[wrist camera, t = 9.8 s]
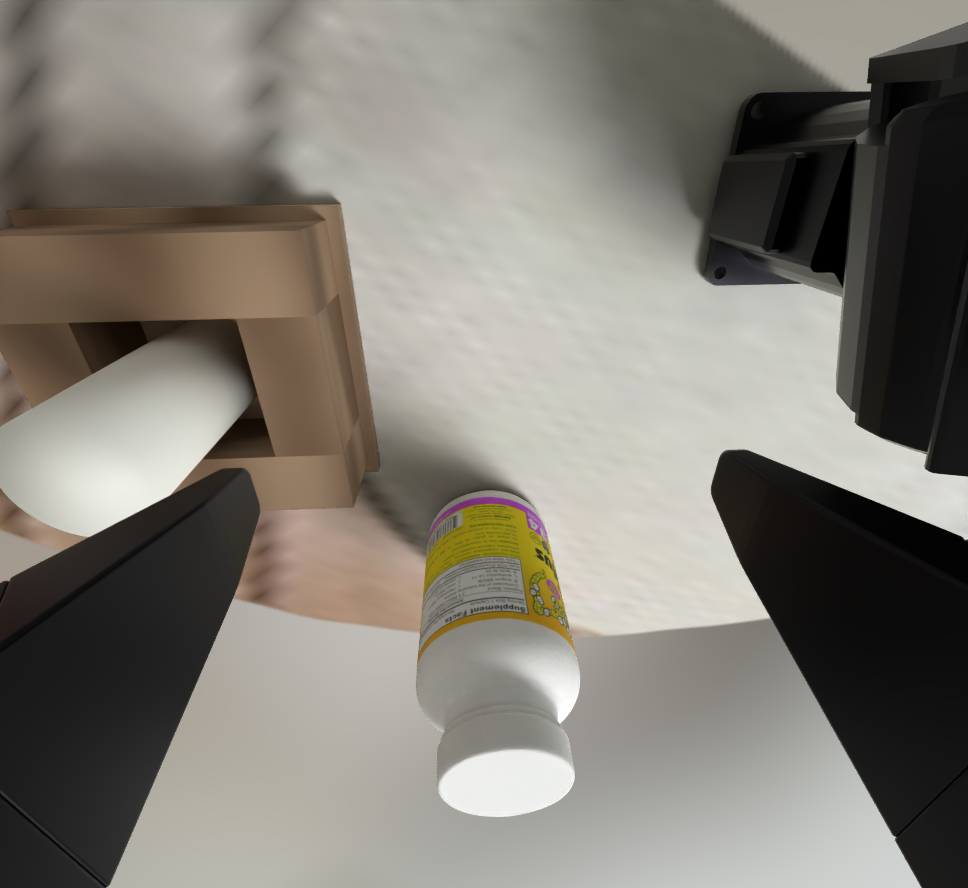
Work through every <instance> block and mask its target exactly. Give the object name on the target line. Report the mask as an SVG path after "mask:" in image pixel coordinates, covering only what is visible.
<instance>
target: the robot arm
mask: <svg viewBox="0 0 968 888" xmlns="http://www.w3.org/2000/svg"><path fill="white" fill-rule="evenodd" d="M867 83H872V84H871V92H773V93H759V94H755V95H751V96H750V97H748V98H747V99H746V100H745V101H744V102H743V104H742V105H741V107H740V110H739V114H738V118H737V123H736V127H735V132H734V137H733V141H732V146H731V150H730V155H729V157H728V158H727V160H726V161H725V162H724V163H723V166H722V171H721V176H720V180H719V185H718V190H717V194H716V199H715V204H714V208H713V213H712V218H711V222H710V227H709V234H710V236H711V242H710V247H709V251H708V256H707V260H706V265H705V270H704V278H705V280H706V281H707V282H709V283H711V284H713V285H760V284H805V285H808V286H811V287H814V288H817V289H820V290H823V291H826V292H829V293H832V294H835V295H837V296H840V297H842V310H841V322H840V335H839V347H838V359H837V372H836V392H837V394H838V395H839V396H840V397H841V399H842V400H843V401H844V402H845V403H846V405H847V406H848V407H849V408H850V409H851V410H852V411H853V412H855V413H856V414H855V423H856V424H857V425H858V426H859V427H861V428H863V429H865V430H867V431H869V432H870V433H872V434H874V435H876V436H878V437H880V438H882V439H884V440H886V441H888V442H891V443H894V444H897V445H900V446H903V447H906V448H908V449H911V450H914V451H917V452H922V453H924V454H927V456H926V461H925V466H924V467H925V469H926V470H928V471H929V472H932V473H937V474H947V475H958V476H968V22H967V23H964V24H962V25H959V26H956V27H953V28H951V29H948V30H945V31H943V32H940V33H937V34H934V35H931V36H929V37H926V38H923V39H921V40H918V41H915V42H912V43H910V44H907V45H904V46H901V47H899V48H896V49H893V50H890V51H888V52H885V53H882V54H879V55H877V56H874V57H871V58H870V59H869V68H868V79H867ZM756 103H757V104H758V105H759V107H760V112H759V114H758V116H757V117H756V118H753V117H752V115H751V110H752V108H753V106H754V105H755V104H756ZM718 267H722V272H721V274H720V275H719V276H718V277H714V272H715V270H716V269H717V268H718ZM711 494H712V498H713V501H714V503H715V505H716V508H717V510H718V513H719V515H720V517H721V520H722V522H723V524H724V527H725V529H726V531H727V534H728V536H729V539H730V541H731V543H732V546H733V548H734V550H735V553H736V555H737V557H738V559H739V561H740V563H741V565H742V567H743V569H744V571H745V573H746V575H747V577H748V578H749V580H750V582H751V584H752V586H753V587H754V589H755V591H756V593H757V594H758V596H759V598H760V600H761V602H762V603H763V605H764V607H765V609H766V611H767V612H768V614H769V616H770V618H771V619H772V621H773V623H774V625H775V627H776V628H777V630H778V632H779V634H780V635H781V637H782V639H783V641H784V642H785V644H786V646H787V648H788V650H789V651H790V653H791V655H792V657H793V659H794V660H795V662H796V664H797V666H798V668H799V669H800V671H801V673H802V675H803V676H804V678H805V680H806V682H807V684H808V685H809V687H810V689H811V691H812V692H813V694H814V696H815V698H816V699H817V701H818V703H819V705H820V707H821V709H822V710H823V712H824V714H825V716H826V717H827V719H828V721H829V723H830V724H831V726H832V728H833V730H834V732H835V733H836V735H837V737H838V739H839V741H840V742H841V744H842V746H843V748H844V749H845V751H846V753H847V755H848V757H849V758H850V760H851V762H852V764H853V766H854V767H855V769H856V771H857V773H858V774H859V776H860V778H861V780H862V782H863V783H864V785H865V787H866V789H867V791H868V792H869V794H870V796H871V798H872V799H873V801H874V803H875V804H876V806H877V808H878V810H879V812H880V814H881V815H882V817H883V819H884V821H885V823H886V824H887V826H888V828H889V830H890V831H891V833H892V835H893V836H895V837H896V838H895V841H896V843H897V845H898V846H899V848H900V850H901V852H902V854H903V855H904V857H905V859H906V861H907V862H908V864H909V866H910V868H911V870H912V871H913V873H914V875H915V877H916V878H917V880H918V882H919V884H920V886H921V887H922V888H968V540H964V538H963V537H961V536H959V535H957V534H954V533H952V532H949V531H947V530H944V529H942V528H939V527H937V526H934V525H932V524H929V523H927V522H924V521H922V520H919V519H917V518H914V517H912V516H910V515H907V514H905V513H902V512H900V511H897V510H895V509H892V508H890V507H887V506H885V505H882V504H880V503H877V502H875V501H872V500H870V499H867V498H865V497H863V496H860V495H858V494H855V493H853V492H850V491H848V490H845V489H843V488H840V487H838V486H835V485H833V484H830V483H828V482H825V481H823V480H820V479H818V478H815V477H813V476H811V475H808V474H806V473H803V472H801V471H798V470H796V469H793V468H791V467H788V466H786V465H783V464H781V463H778V462H776V461H773V460H771V459H768V458H766V457H764V456H761V455H759V454H756V453H754V452H751V451H749V450H743V449H742V450H726V451H724V452H723V453H722V454H721V455H720V457H719V460H718V464H717V467H716V471H715V474H714V478H713V481H712V485H711ZM259 515H260V503H259V500H258V497H257V494H256V491H255V488H254V485H253V481H252V478H251V475H250V473H249V472H248V470H246V469H245V468H223V469H220V470H218V471H216V472H214V473H212V474H210V475H208V476H206V477H204V478H202V479H201V480H199V481H197V482H195V483H193V484H191V485H189V486H187V487H185V488H183V489H181V490H179V491H177V492H175V493H173V494H172V495H170V496H168V497H166V498H164V499H162V500H160V501H158V502H156V503H154V504H152V505H150V506H148V507H146V508H144V509H143V510H141V511H139V512H137V513H135V514H133V515H131V516H129V517H127V518H125V519H123V520H121V521H119V522H117V523H115V524H114V525H112V526H110V527H108V528H106V529H104V530H102V531H100V532H98V533H96V534H94V535H92V536H90V537H88V538H86V539H85V540H83V541H81V542H79V543H77V544H75V545H73V546H71V547H69V548H67V549H65V550H63V551H61V552H59V553H58V554H56V555H54V556H52V557H50V558H48V559H46V560H44V561H42V562H40V563H38V564H36V565H34V566H32V567H31V568H29V569H27V570H25V571H23V572H21V573H19V574H17V575H15V576H13V577H12V578H11V579H10V581H3V582H1V583H0V888H106V887H108V886H109V885H110V883H111V880H112V878H113V876H114V874H115V871H116V869H117V867H118V865H119V862H120V860H121V858H122V855H123V853H124V850H125V848H126V846H127V844H128V841H129V839H130V837H131V834H132V832H133V830H134V827H135V825H136V823H137V820H138V818H139V815H140V813H141V811H142V809H143V806H144V804H145V802H146V799H147V797H148V795H149V792H150V790H151V788H152V785H153V783H154V780H155V778H156V776H157V773H158V772H159V769H160V767H161V765H162V762H163V760H164V758H165V755H166V753H167V750H168V748H169V746H170V744H171V741H172V739H173V737H174V734H175V732H176V729H177V727H178V725H179V723H180V720H181V718H182V716H183V713H184V711H185V709H186V706H187V704H188V702H189V699H190V697H191V695H192V692H193V690H194V688H195V685H196V683H197V681H198V678H199V676H200V674H201V671H202V669H203V667H204V664H205V662H206V660H207V658H208V655H209V653H210V650H211V648H212V646H213V643H214V641H215V639H216V636H217V634H218V632H219V630H220V627H221V625H222V623H223V620H224V618H225V616H226V613H227V611H228V609H229V606H230V604H231V602H232V599H233V597H234V595H235V592H236V590H237V587H238V584H239V581H240V578H241V575H242V572H243V569H244V566H245V562H246V559H247V555H248V552H249V549H250V545H251V542H252V539H253V535H254V532H255V529H256V525H257V522H258V518H259Z"/></svg>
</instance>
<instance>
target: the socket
mask: <svg viewBox="0 0 968 888" xmlns="http://www.w3.org/2000/svg"><path fill="white" fill-rule="evenodd" d="M6 212H7V214H8V216H9V218H10V220H11V222H12V224H13V226H14V227H12V228H5V229H0V352H1V354H2V355H3V357H4V359H5V361H6V362H7V364H8V366H9V368H10V370H11V371H12V373H13V375H14V377H15V378H16V380H17V382H18V384H19V385H20V387H21V389H22V391H23V393H24V394H25V396H26V398H27V400H28V401H29V403H30V405H31V407H32V408H34V407H35V406H37V405H39V404H41V403H43V402H44V401H46V400H48V399H50V398H51V397H53V396H55V395H57V394H58V393H60V392H62V391H64V390H66V389H67V388H69V387H71V386H73V385H74V384H76V383H78V382H80V381H81V380H83V379H85V378H87V377H89V376H90V375H92V374H94V373H96V372H97V371H99V370H101V369H103V368H104V367H106V366H108V365H110V364H112V363H113V362H115V361H117V360H119V359H120V358H122V357H124V356H126V355H127V354H129V353H131V352H133V351H135V350H136V349H138V348H140V347H142V346H143V345H145V344H147V343H149V342H150V341H152V340H154V339H156V338H158V337H159V336H161V335H163V334H165V333H166V332H168V331H170V330H172V329H173V328H175V327H177V326H179V325H181V324H182V323H184V322H186V321H188V320H202V319H229V320H231V321H234V322H235V323H237V324H238V328H239V331H240V335H241V338H242V342H243V345H244V349H245V352H246V356H247V359H248V363H249V366H250V369H251V373H252V376H253V380H254V383H255V387H256V390H257V394H258V396H257V397H256V398H255V400H254V401H253V402H252V403H251V404H250V405H249V406H248V408H247V409H246V410H245V411H244V412H243V413H242V414H241V416H240V417H239V418H238V419H237V420H236V421H235V422H234V423H233V425H232V426H231V427H230V428H229V429H228V430H227V431H226V433H225V434H224V435H223V436H222V437H221V438H220V439H219V440H218V442H217V443H216V444H215V445H214V446H213V447H212V448H211V450H210V451H209V452H208V453H207V454H206V455H205V456H204V458H203V459H202V460H201V461H200V462H199V463H198V464H197V465H196V467H195V468H194V469H193V470H192V471H191V472H190V473H189V475H188V476H187V477H186V478H185V479H184V480H183V481H182V482H181V484H180V485H179V486H178V487H177V488H176V489H175V490H174V492H173V493H175V492H177V491H179V490H181V489H183V488H185V487H187V486H189V485H191V484H193V483H195V482H197V481H199V480H201V479H202V478H204V477H206V476H208V475H210V474H212V473H214V472H216V471H218V470H220V469H223V468H245V469H246V470H248V472H249V473H250V475H251V478H252V481H253V485H254V488H255V491H256V494H257V497H258V500H259V503H260V511H271V510H298V509H324V508H350V507H354V504H355V501H356V498H357V494H358V491H359V488H360V485H361V482H362V479H363V475H364V472H376V471H379V468H380V459H379V453H378V446H377V440H376V433H375V426H374V420H373V413H372V407H371V400H370V393H369V387H368V380H367V374H366V367H365V360H364V354H363V347H362V341H361V334H360V327H359V321H358V314H357V308H356V301H355V294H354V288H353V281H352V275H351V268H350V261H349V255H348V248H347V242H346V235H345V228H344V222H343V215H342V209H341V204H306V205H248V206H191V207H133V208H75V209H19V210H8V211H6ZM173 493H172V494H173ZM172 494H171V495H172Z"/></svg>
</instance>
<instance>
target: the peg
mask: <svg viewBox="0 0 968 888" xmlns="http://www.w3.org/2000/svg"><path fill="white" fill-rule="evenodd" d="M257 396H258V394H257V390H256V387H255V383H254V380H253V376H252V373H251V369H250V366H249V363H248V359H247V356H246V352H245V349H244V345H243V342H242V338H241V335H240V331H239V328H238V324H237V323H235V322H234V321H231V320H229V319H202V320H188V321H186V322H184V323H182V324H181V325H179V326H177V327H175V328H173V329H172V330H170V331H168V332H166V333H165V334H163V335H161V336H159V337H158V338H156V339H154V340H152V341H150V342H149V343H147V344H145V345H143V346H142V347H140V348H138V349H136V350H135V351H133V352H131V353H129V354H127V355H126V356H124V357H122V358H120V359H119V360H117V361H115V362H113V363H112V364H110V365H108V366H106V367H104V368H103V369H101V370H99V371H97V372H96V373H94V374H92V375H90V376H89V377H87V378H85V379H83V380H81V381H80V382H78V383H76V384H74V385H73V386H71V387H69V388H67V389H66V390H64V391H62V392H60V393H58V394H57V395H55V396H53V397H51V398H50V399H48V400H46V401H44V402H43V403H41V404H39V405H37V406H35V407H34V408H32V409H30V410H28V411H27V412H25V413H23V414H21V415H20V416H18V417H16V418H14V419H12V420H11V421H9V422H7V423H6V424H4V425H2V426H1V427H0V488H1V489H2V491H3V492H4V493H5V494H6V495H7V496H8V497H9V498H10V499H11V500H12V501H13V502H14V503H15V504H16V505H17V506H18V507H20V508H21V509H22V510H24V511H25V512H26V513H28V514H29V515H31V516H33V517H34V518H36V519H38V520H39V521H41V522H43V523H45V524H47V525H49V526H52V527H54V528H56V529H59V530H62V531H65V532H68V533H72V534H76V535H81V536H86V537H90V536H92V535H94V534H96V533H98V532H100V531H102V530H104V529H106V528H108V527H110V526H112V525H114V524H115V523H117V522H119V521H121V520H123V519H125V518H127V517H129V516H131V515H133V514H135V513H137V512H139V511H141V510H143V509H144V508H146V507H148V506H150V505H152V504H154V503H156V502H158V501H160V500H162V499H164V498H166V497H168V496H170V495H171V494H172V493H173V492H174V490H175V489H176V488H177V487H178V486H179V485H180V484H181V482H182V481H183V480H184V479H185V478H186V477H187V476H188V475H189V473H190V472H191V471H192V470H193V469H194V468H195V467H196V465H197V464H198V463H199V462H200V461H201V460H202V459H203V458H204V456H205V455H206V454H207V453H208V452H209V451H210V450H211V448H212V447H213V446H214V445H215V444H216V443H217V442H218V440H219V439H220V438H221V437H222V436H223V435H224V434H225V433H226V431H227V430H228V429H229V428H230V427H231V426H232V425H233V423H234V422H235V421H236V420H237V419H238V418H239V417H240V416H241V414H242V413H243V412H244V411H245V410H246V409H247V408H248V406H249V405H250V404H251V403H252V402H253V401H254V400H255V398H256V397H257Z"/></svg>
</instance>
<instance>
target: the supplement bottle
mask: <svg viewBox="0 0 968 888" xmlns="http://www.w3.org/2000/svg"><path fill="white" fill-rule="evenodd" d="M579 687H580V672H579V666H578V662H577V657H576V653H575V649H574V645H573V641H572V637H571V633H570V629H569V624H568V620H567V616H566V612H565V607H564V603H563V599H562V595H561V591H560V586H559V582H558V578H557V574H556V569H555V565H554V561H553V557H552V553H551V549H550V545H549V540H548V536H547V533H546V530H545V526H544V523H543V521H542V519H541V517H540V515H539V514H538V512H537V511H536V510H535V509H534V508H533V507H532V506H531V505H530V504H529V503H528V502H526V501H525V500H523V499H522V498H520V497H518V496H515V495H513V494H510V493H506V492H501V491H494V490H485V491H478V492H473V493H469V494H466V495H463V496H461V497H458V498H456V499H455V500H453V501H451V502H450V503H448V504H447V505H446V506H445V507H444V508H443V509H442V510H441V511H440V512H439V513H438V514H437V516H436V517H435V519H434V521H433V523H432V525H431V528H430V531H429V537H428V546H427V557H426V569H425V581H424V593H423V605H422V618H421V629H420V641H419V651H418V662H417V677H416V691H417V697H418V701H419V704H420V707H421V709H422V711H423V713H424V715H425V716H426V718H427V719H428V720H429V721H430V722H431V724H432V725H433V726H434V727H435V728H437V729H438V730H439V731H441V732H442V733H443V735H442V738H441V742H440V744H439V746H438V750H437V751H438V752H437V787H438V792H439V794H440V796H441V797H442V799H443V800H444V801H445V802H446V803H447V804H449V805H450V806H452V807H453V808H455V809H457V810H459V811H462V812H465V813H469V814H473V815H480V816H491V817H505V816H514V815H519V814H524V813H528V812H532V811H536V810H539V809H542V808H545V807H547V806H549V805H551V804H553V803H555V802H557V801H558V800H560V799H561V798H562V797H563V796H565V794H567V793H568V791H569V790H570V789H571V787H572V785H573V782H574V776H575V775H574V767H573V761H572V756H571V750H570V744H569V739H568V737H567V735H566V733H565V732H564V731H563V728H562V726H561V725H560V723H561V722H562V721H563V720H564V719H565V718H566V717H567V715H568V714H569V713H570V711H571V710H572V708H573V706H574V704H575V702H576V699H577V696H578V692H579Z"/></svg>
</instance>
